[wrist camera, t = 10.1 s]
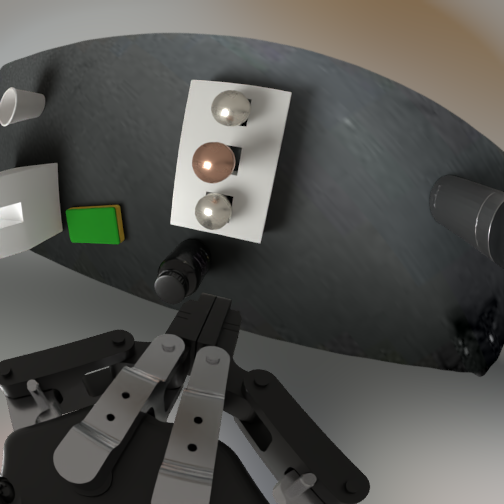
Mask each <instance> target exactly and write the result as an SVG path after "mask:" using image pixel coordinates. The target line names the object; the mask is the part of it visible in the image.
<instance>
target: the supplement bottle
mask: <svg viewBox="0 0 504 504" xmlns="http://www.w3.org/2000/svg"><path fill="white" fill-rule="evenodd" d="M210 265H211V254H210V251H209V250H208V248H207V247H206V246H205V245H204V244H203V243H201V242H200V241H197V240H192V239H190V240H185V241H183V242H181V243H180V244H179V245H178V246H177V247H176V248H175V249H174V250H173V251H172V252H171V253H170V254H169V255H168V256H167V257H166V259H165V260H164V261H163V262H162V263H161V265H160V266H159V269H158V278H157V279H156V281H155V285H154V286H155V291H156V294H157V295H158V297H159V298H160V299H162V300H163V301H165V302H167V303H170V304H177V303H180V302H181V301H182V300H183V299H184V298H185V297H188V296H190V295H192V294H194V293H195V292H196V290H197V289H198V287H199V285H200V284H201V282H202V280H203V278H204V276H205V275H206V273H207V271H208V269H209V267H210Z"/></svg>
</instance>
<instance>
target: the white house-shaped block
mask: <svg viewBox="0 0 504 504" xmlns="http://www.w3.org/2000/svg"><path fill="white" fill-rule="evenodd" d="M62 231H63V229H62V221H61V211H60V201H59V186H58V163H50V164H41V165H32V166H25V167H17V168H13V169H9V170H5V171H2V172H0V259H1V258H4V257H7V256H10V255H13V254H17V253H20V252H23V251H26V250H29V249H31V248H33V247H34V246H36V245H38V244H40V243H41V242H43V241H45V240H47V239H49V238H50V237H52V236H54V235H56V234H58V233H60V232H62Z"/></svg>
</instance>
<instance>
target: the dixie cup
mask: <svg viewBox="0 0 504 504" xmlns="http://www.w3.org/2000/svg"><path fill="white" fill-rule="evenodd" d="M44 107H45V97H44V95H43V94H39V93H34V92H29V91H24V90H19V89H15V88H13V87H11V88H9V89H8V90H7V91H6V92H5V93H4V95H3V97H2V99H1V102H0V123H1V125H2V126H7V125H8V124H11V123H15V122H19V121H23V120H27V119H32V118H36V117H39V116H40V115H41V114H42V112H43V110H44Z"/></svg>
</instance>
